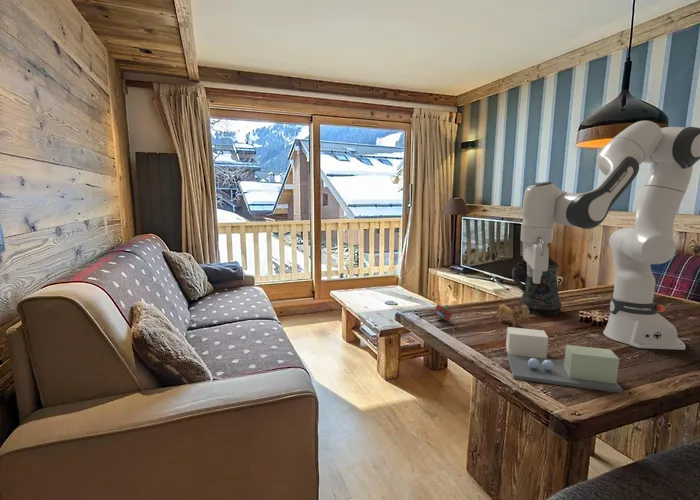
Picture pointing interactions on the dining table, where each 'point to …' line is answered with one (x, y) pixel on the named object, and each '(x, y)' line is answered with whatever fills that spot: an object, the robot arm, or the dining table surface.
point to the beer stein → (539, 290)
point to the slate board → (554, 374)
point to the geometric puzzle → (442, 312)
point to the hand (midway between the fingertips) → (533, 279)
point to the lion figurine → (513, 313)
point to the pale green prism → (591, 364)
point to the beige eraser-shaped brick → (526, 342)
